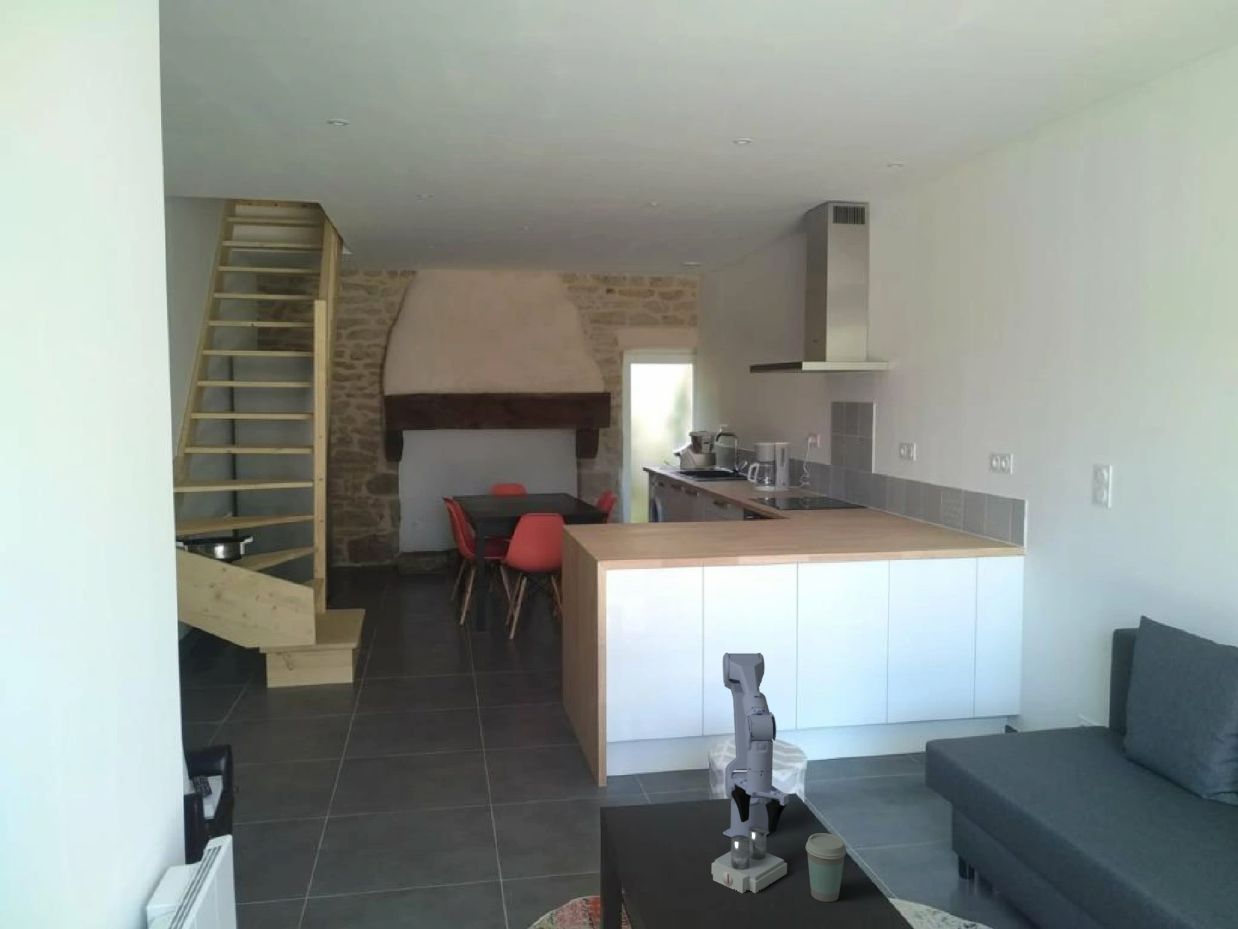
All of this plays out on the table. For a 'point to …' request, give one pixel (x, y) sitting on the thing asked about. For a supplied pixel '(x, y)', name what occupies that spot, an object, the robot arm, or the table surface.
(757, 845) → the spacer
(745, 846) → the cylinder
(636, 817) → the table surface
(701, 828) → the table surface
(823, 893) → the coffee cup
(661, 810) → the table surface
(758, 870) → the grey flat ridged box
